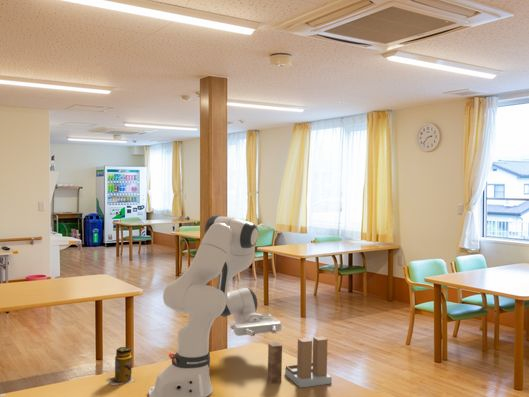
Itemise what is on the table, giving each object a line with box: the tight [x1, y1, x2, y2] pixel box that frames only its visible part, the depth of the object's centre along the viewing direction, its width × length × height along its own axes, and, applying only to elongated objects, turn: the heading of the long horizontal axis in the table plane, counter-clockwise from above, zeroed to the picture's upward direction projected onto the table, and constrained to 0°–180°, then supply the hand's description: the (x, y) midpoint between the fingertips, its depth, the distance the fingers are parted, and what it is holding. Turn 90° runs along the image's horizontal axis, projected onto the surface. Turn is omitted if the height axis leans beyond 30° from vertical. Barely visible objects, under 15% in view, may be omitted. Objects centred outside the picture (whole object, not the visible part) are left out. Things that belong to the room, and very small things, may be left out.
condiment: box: [106, 346, 135, 386], centre depth 190 cm, size 7×8×12 cm
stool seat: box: [284, 335, 333, 389], centre depth 195 cm, size 13×14×16 cm
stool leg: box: [267, 342, 283, 384], centre depth 193 cm, size 4×4×14 cm
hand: (264, 332), depth 204 cm, fingers open, 8 cm apart
